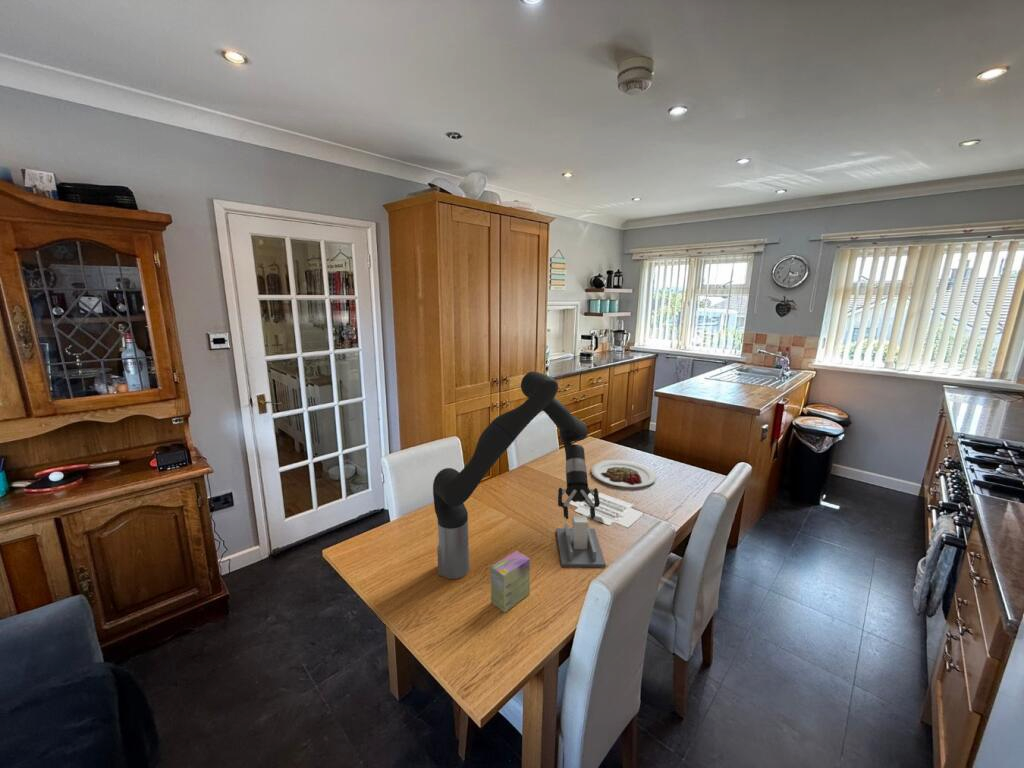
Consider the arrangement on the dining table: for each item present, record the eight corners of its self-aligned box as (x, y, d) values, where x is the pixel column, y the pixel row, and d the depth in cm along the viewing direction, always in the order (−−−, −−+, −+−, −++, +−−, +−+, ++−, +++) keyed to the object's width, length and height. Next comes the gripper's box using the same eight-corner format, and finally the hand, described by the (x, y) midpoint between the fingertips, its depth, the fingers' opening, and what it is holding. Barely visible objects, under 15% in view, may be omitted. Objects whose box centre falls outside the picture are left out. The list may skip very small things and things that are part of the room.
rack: (561, 566, 129) (561, 555, 128) (556, 530, 148) (556, 520, 147) (605, 567, 128) (606, 556, 127) (594, 531, 148) (594, 521, 147)
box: (516, 584, 121) (516, 549, 118) (530, 594, 117) (530, 558, 114) (490, 602, 114) (489, 566, 111) (504, 613, 110) (503, 576, 107)
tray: (587, 490, 180) (588, 482, 180) (647, 514, 162) (648, 506, 161) (561, 507, 166) (561, 499, 165) (623, 536, 148) (624, 527, 147)
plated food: (605, 458, 214) (606, 452, 213) (663, 472, 197) (664, 466, 196) (580, 479, 190) (580, 472, 189) (643, 497, 173) (644, 490, 172)
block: (573, 548, 136) (574, 522, 134) (571, 540, 140) (572, 515, 138) (587, 549, 136) (588, 522, 134) (584, 541, 140) (585, 515, 138)
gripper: (557, 469, 143) (559, 515, 134) (597, 469, 143) (602, 516, 134) (556, 476, 150) (558, 521, 141) (594, 477, 149) (598, 521, 140)
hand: (579, 518), depth 137 cm, fingers open, 8 cm apart
